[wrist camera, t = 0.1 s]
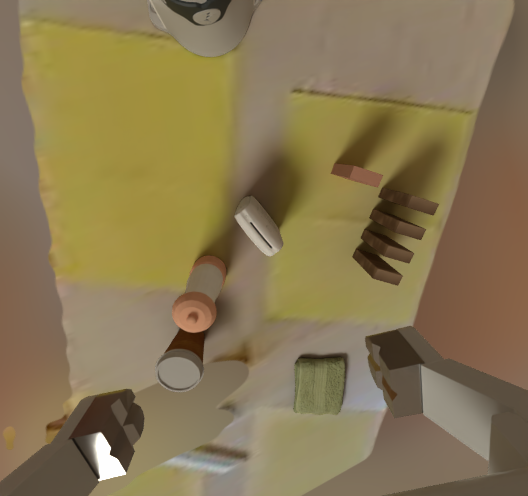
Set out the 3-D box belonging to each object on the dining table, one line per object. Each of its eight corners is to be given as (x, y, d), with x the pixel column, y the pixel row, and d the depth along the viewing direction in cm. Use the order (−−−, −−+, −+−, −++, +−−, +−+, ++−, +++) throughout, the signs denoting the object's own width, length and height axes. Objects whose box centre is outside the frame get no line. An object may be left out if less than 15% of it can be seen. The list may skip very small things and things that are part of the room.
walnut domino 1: (382, 187, 55) (412, 195, 45) (404, 194, 56) (439, 204, 46) (378, 197, 56) (406, 207, 46) (400, 204, 57) (433, 215, 46)
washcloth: (292, 409, 74) (293, 420, 71) (293, 355, 68) (295, 364, 65) (340, 407, 75) (344, 418, 72) (346, 353, 69) (350, 362, 66)
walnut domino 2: (373, 208, 57) (400, 221, 46) (394, 215, 57) (426, 229, 47) (369, 218, 57) (394, 232, 47) (390, 224, 58) (420, 240, 48)
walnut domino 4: (355, 248, 59) (377, 268, 49) (376, 254, 60) (402, 275, 50) (352, 257, 60) (373, 278, 50) (373, 262, 61) (398, 285, 50)
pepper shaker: (221, 289, 61) (208, 346, 43) (189, 281, 60) (162, 335, 42) (230, 260, 59) (220, 307, 41) (197, 251, 58) (171, 295, 40)
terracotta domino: (334, 163, 54) (354, 165, 43) (358, 171, 54) (383, 175, 44) (330, 173, 54) (349, 178, 44) (354, 181, 55) (377, 187, 44)
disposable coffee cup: (218, 328, 65) (210, 365, 53) (201, 358, 67) (191, 400, 56) (179, 312, 63) (163, 347, 52) (164, 344, 65) (145, 384, 54)
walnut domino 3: (364, 229, 58) (388, 245, 48) (385, 235, 59) (414, 253, 48) (360, 238, 59) (383, 256, 48) (381, 244, 59) (409, 263, 49)
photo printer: (234, 204, 55) (229, 218, 44) (250, 191, 55) (250, 201, 43) (265, 242, 58) (268, 265, 47) (281, 230, 58) (289, 250, 46)
